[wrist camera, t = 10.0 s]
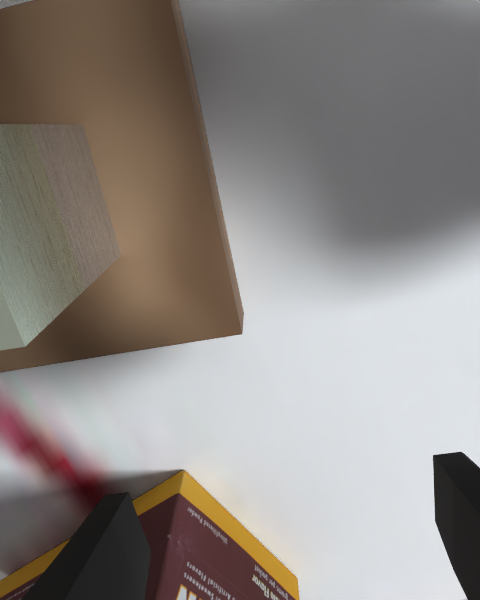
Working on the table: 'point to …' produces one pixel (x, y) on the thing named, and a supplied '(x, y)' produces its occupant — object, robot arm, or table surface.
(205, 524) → the supplement box
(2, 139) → the block
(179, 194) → the walnut stand
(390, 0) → the table surface
